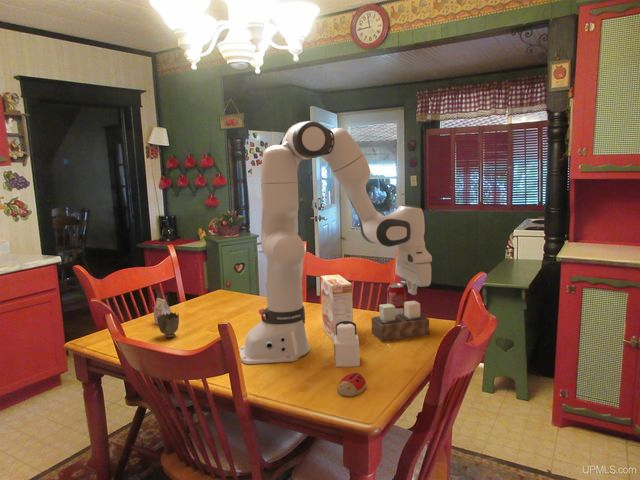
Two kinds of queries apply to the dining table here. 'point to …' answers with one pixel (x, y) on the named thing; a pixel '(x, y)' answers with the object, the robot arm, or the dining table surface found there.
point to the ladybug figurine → (351, 385)
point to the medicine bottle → (346, 345)
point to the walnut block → (400, 327)
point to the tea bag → (160, 308)
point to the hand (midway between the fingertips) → (412, 293)
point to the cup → (168, 324)
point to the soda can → (396, 297)
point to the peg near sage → (387, 312)
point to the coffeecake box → (335, 302)
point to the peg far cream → (412, 309)
